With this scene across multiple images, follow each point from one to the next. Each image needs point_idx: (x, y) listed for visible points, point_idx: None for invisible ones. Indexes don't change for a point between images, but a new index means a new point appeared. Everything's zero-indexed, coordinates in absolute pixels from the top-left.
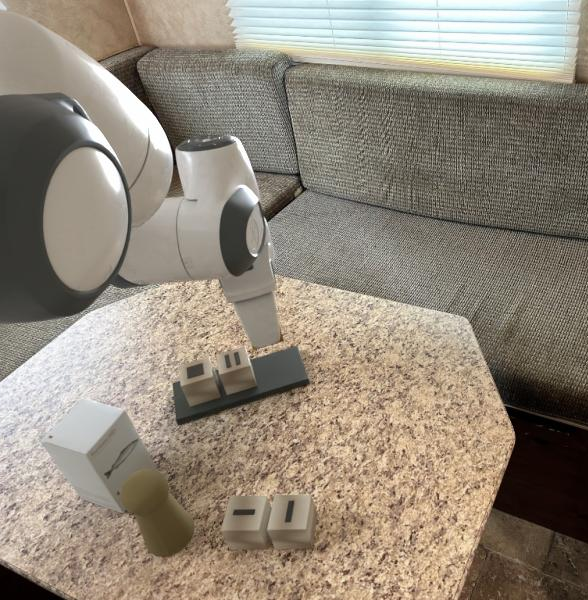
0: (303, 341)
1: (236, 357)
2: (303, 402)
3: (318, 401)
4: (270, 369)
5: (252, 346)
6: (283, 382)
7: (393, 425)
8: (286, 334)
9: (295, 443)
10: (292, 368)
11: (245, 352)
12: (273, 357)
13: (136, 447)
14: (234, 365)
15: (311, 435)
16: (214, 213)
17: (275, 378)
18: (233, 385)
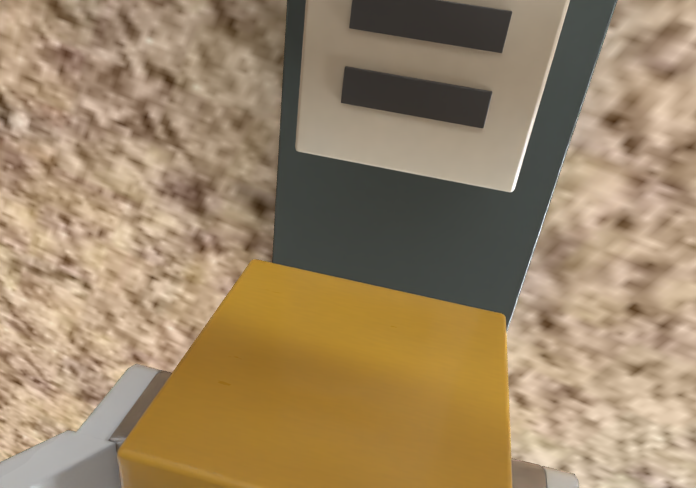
0: (543, 371)
1: (422, 96)
2: (195, 224)
3: (178, 269)
4: (418, 197)
5: (236, 283)
6: (297, 213)
7: (12, 384)
8: (653, 341)
9: (6, 115)
10: (363, 279)
11: (442, 169)
12: (496, 241)
13: None
14: (352, 53)
15: (29, 180)
16: None
17: (342, 193)
18: None
